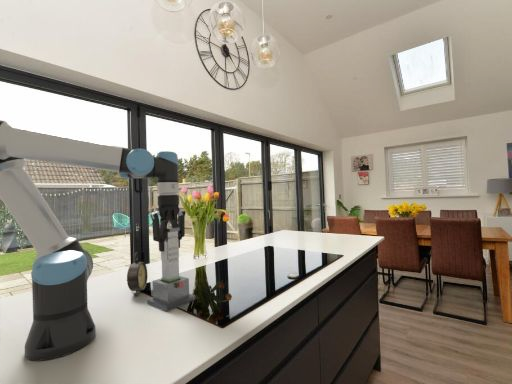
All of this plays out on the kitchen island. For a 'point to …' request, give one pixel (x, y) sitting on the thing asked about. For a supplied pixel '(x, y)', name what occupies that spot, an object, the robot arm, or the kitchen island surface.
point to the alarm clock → (137, 276)
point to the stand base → (170, 294)
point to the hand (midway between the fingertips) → (170, 258)
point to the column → (171, 256)
